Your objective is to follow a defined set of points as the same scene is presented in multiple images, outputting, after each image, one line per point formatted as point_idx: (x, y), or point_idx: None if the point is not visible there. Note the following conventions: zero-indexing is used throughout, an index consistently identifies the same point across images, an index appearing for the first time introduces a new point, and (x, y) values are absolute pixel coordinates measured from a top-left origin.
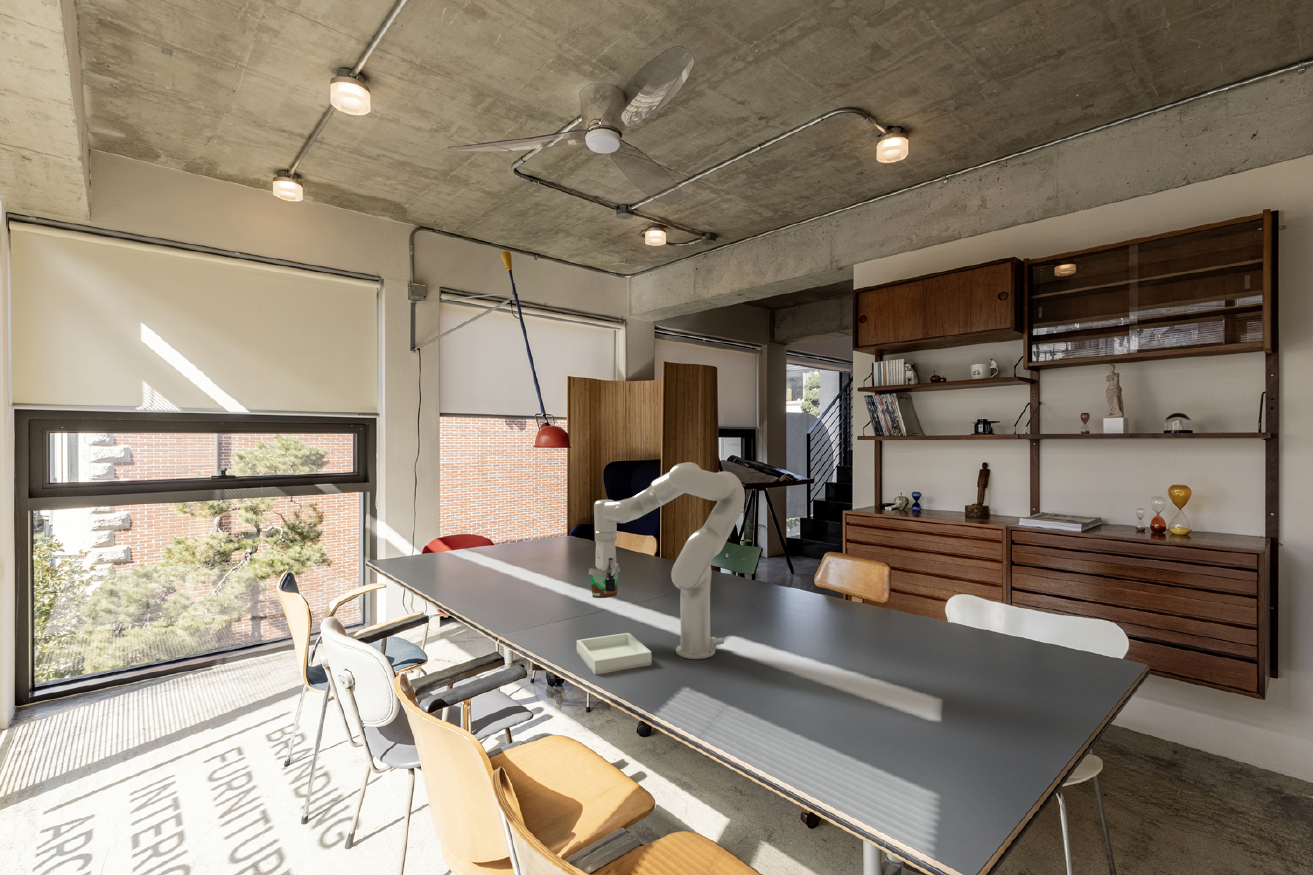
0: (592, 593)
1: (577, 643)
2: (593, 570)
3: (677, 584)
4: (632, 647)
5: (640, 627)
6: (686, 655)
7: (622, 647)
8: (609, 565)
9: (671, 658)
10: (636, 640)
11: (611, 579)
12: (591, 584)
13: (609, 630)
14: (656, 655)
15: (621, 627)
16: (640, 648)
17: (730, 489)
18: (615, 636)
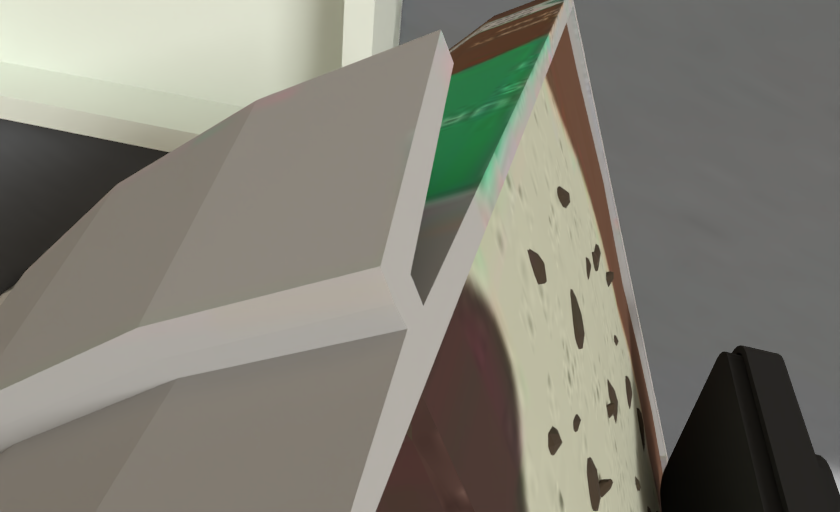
0: (556, 2)
1: None
2: (23, 455)
3: None
4: (239, 107)
5: (690, 405)
6: (9, 290)
7: (278, 43)
8: None
9: (44, 222)
10: (151, 138)
11: None
12: (535, 46)
13: (825, 199)
14: (114, 181)
15: (810, 313)
16: (45, 92)
17: None
18: (344, 48)
